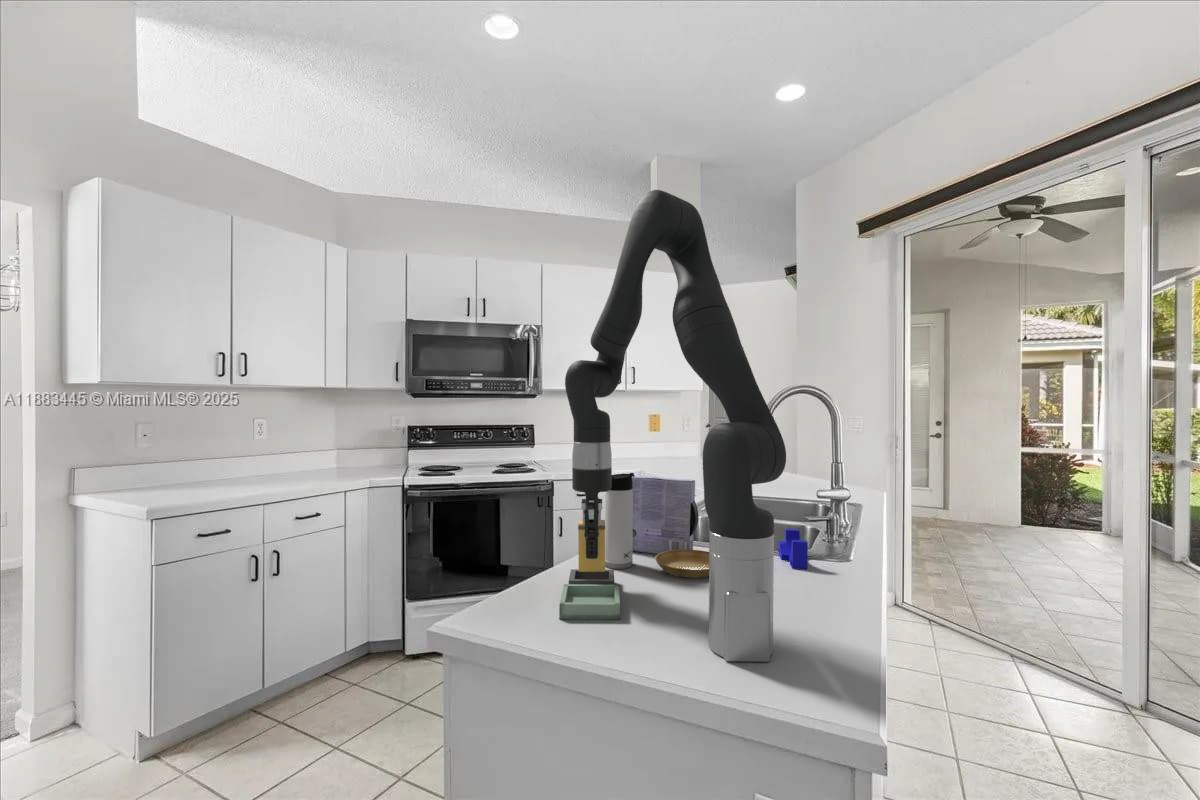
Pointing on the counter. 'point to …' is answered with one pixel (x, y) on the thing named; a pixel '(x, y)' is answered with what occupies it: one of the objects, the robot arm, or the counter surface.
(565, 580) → the counter surface
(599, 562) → the block
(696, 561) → the plant saucer
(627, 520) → the travel mug
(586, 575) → the frame
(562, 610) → the parts tray
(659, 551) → the cake pan box
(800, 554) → the cable clip
